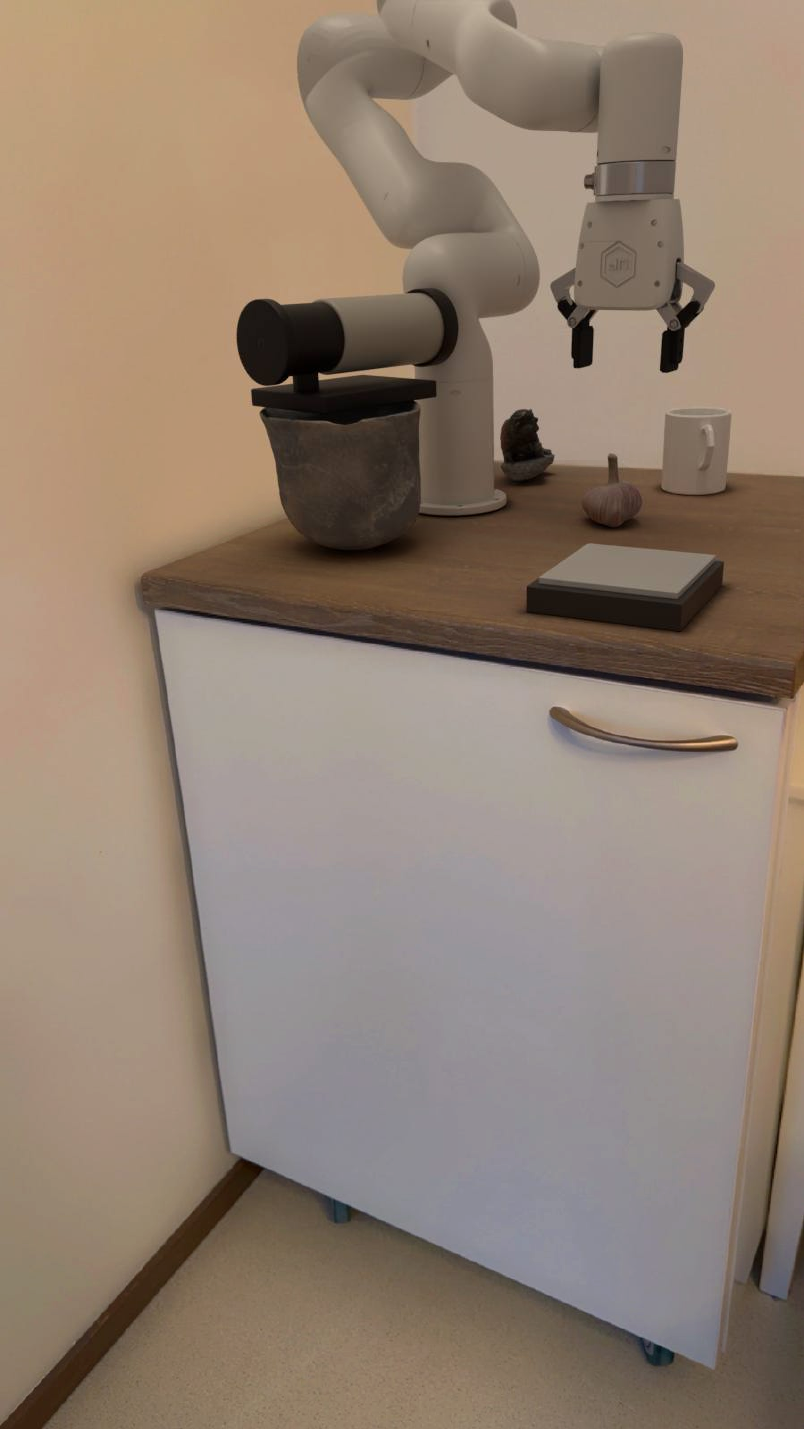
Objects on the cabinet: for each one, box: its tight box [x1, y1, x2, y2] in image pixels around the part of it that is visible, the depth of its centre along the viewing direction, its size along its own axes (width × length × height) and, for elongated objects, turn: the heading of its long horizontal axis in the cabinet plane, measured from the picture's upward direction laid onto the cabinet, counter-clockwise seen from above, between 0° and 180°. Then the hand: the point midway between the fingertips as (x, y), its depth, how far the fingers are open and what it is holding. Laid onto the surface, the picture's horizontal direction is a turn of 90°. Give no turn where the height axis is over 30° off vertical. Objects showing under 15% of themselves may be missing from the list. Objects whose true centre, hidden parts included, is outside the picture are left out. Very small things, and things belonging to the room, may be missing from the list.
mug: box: [660, 406, 733, 496], centre depth 136 cm, size 8×12×10 cm, turn 179°
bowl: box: [259, 400, 421, 551], centre depth 117 cm, size 18×18×15 cm
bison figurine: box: [499, 408, 555, 482], centre depth 148 cm, size 12×7×10 cm, turn 168°
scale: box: [525, 542, 725, 632], centre depth 98 cm, size 14×14×3 cm
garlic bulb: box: [581, 452, 643, 528], centre depth 123 cm, size 8×7×8 cm
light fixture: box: [235, 288, 459, 414], centre depth 115 cm, size 12×11×25 cm
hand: (624, 369), depth 111 cm, fingers open, 9 cm apart
